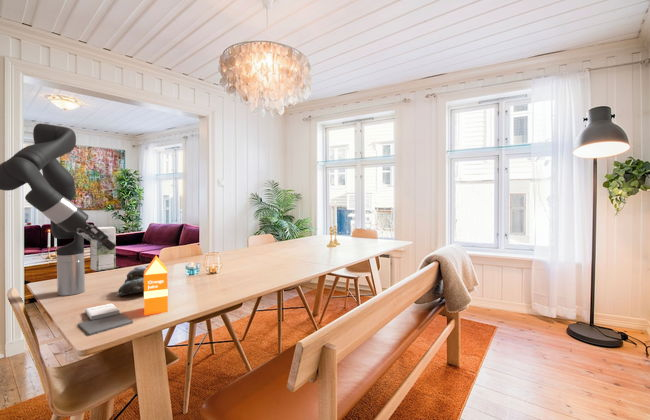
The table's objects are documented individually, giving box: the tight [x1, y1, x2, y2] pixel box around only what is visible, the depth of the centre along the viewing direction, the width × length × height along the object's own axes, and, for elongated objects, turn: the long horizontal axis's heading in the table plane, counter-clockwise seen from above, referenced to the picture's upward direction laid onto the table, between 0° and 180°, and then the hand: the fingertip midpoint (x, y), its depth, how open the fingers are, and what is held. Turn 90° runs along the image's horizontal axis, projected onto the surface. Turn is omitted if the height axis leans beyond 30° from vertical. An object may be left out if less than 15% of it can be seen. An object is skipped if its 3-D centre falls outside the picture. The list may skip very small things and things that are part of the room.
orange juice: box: [143, 255, 169, 316], centre depth 114 cm, size 8×9×20 cm
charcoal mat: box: [77, 312, 134, 336], centre depth 101 cm, size 12×12×1 cm
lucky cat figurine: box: [116, 264, 149, 297], centre depth 134 cm, size 15×12×14 cm
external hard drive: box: [84, 303, 121, 320], centre depth 109 cm, size 2×8×12 cm
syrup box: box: [89, 226, 117, 272], centre depth 104 cm, size 6×6×14 cm
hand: (108, 247), depth 106 cm, fingers closed on syrup box, 6 cm apart
